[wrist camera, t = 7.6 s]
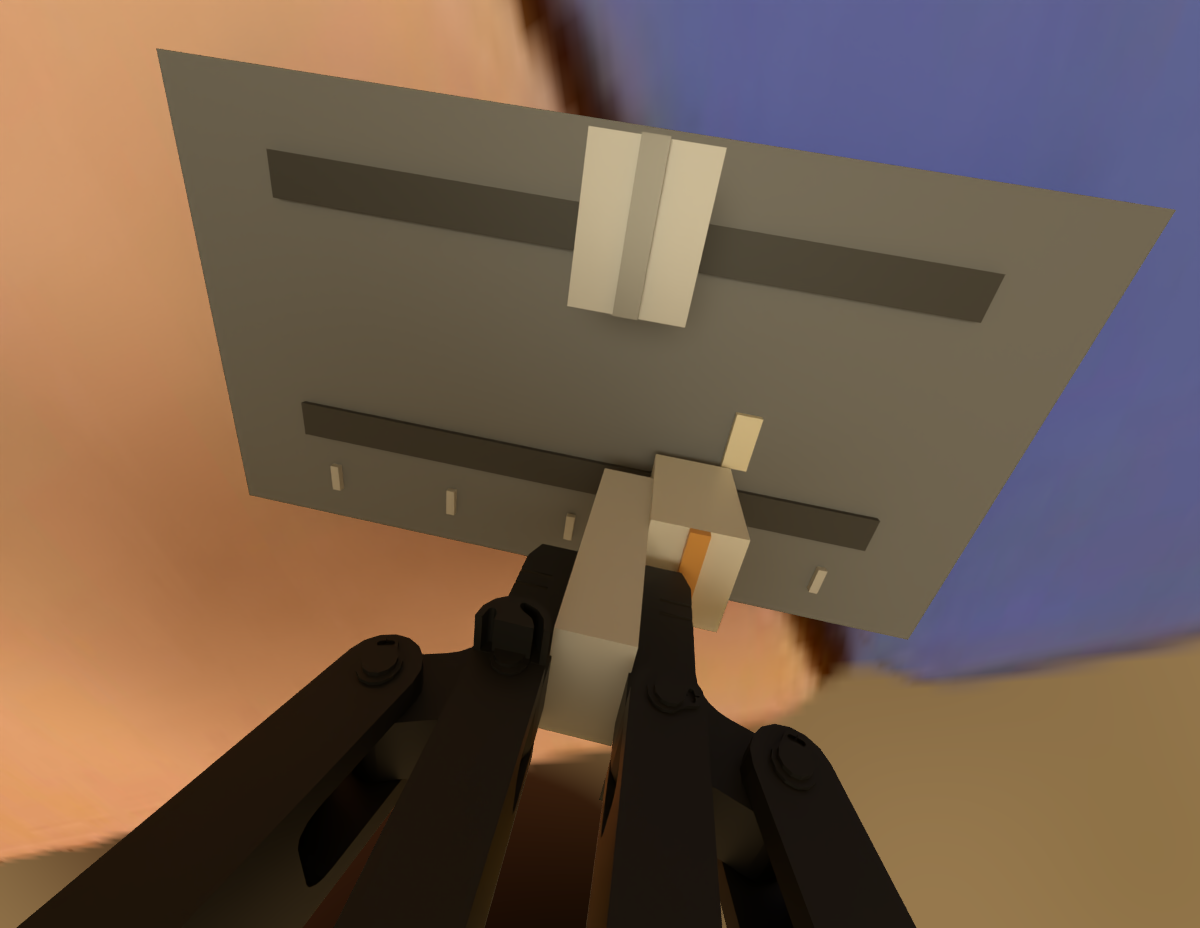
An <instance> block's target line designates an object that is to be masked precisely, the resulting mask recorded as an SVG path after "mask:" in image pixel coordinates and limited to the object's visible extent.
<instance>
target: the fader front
mask: <svg viewBox="0 0 1200 928" xmlns="http://www.w3.org/2000/svg"><path fill="white" fill-rule="evenodd" d="M726 149H727V148H725V147H718V146H712V145H706V144H700V143H693V142H687V141H681V140H675V139H672V136H666V135H660V134H654V133H648V132H642V134H637V133H631V132H625V131H618V130H612V129H606V128H599V127H593V126H589V127H588V136H587V144H586V152H585V161H584V169H583V177H582V186H581V194H580V203H579V211H578V219H577V228H576V236H575V245H574V253H573V261H572V270H571V278H570V286H569V295H568V303H567V306H570V307H576V308H581V309H586V310H592V311H597V312H603V313H608V314H612V316H616V317H622V318H627V319H633V320H638V319H641V320H646V321H651V322H657V323H662V324H668V325H673V326H679V327H684V328H685V326H686V321H687V317H688V313H689V308H690V304H691V300H692V296H693V291H694V287H695V283H696V278H697V274H698V270H699V265H700V261H701V257H702V252H703V248H704V244H705V240H706V235H707V231H708V227H709V222H710V218H711V214H712V209H713V205H714V201H715V197H716V192H717V188H718V184H719V179H720V175H721V171H722V166H723V162H724V158H725V153H726Z"/></svg>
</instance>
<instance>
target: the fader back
mask: <svg viewBox="0 0 1200 928" xmlns="http://www.w3.org/2000/svg"><path fill="white" fill-rule="evenodd" d="M650 478H653V483H652V495H651V507H650V519H649V530H648V541H647V552H646V564H645V565H648V566H652V567H657V568H661V569H666V570H670V571H675V572H679V573H682V574H683V576H684V578H685V579H686V581H687V583H688V585H689V586H690V588H691V599H692V607H691V608H692V617H693V619H692V622H693V627H695V628H700V629H704V630H709V631H713V632H717V630H718V627H719V625H720V622H721V619H722V617H723V614H724V611H725V608H726V606H727V603H728V600H729V597H730V595H731V592H732V589H733V587H734V584H735V581H736V578H737V576H738V573H739V570H740V567H741V565H742V562H743V559H744V557H745V554H746V551H747V548H748V546H749V543H750V537H749V534H748V530H747V526H746V523H745V519H744V516H743V512H742V508H741V505H740V501H739V497H738V494H737V490H736V486H735V483H734V479H733V475H732V472H731V469H729V468H724V467H719V466H714V465H709V464H704V463H699V462H694V461H689V460H684V459H679V458H674V457H669V456H664V455H659V454H656V456H655V460H654V465H653V469H652V473H651V477H650Z"/></svg>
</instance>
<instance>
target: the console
mask: <svg viewBox="0 0 1200 928" xmlns="http://www.w3.org/2000/svg"><path fill="white" fill-rule="evenodd" d="M156 49H157V48H156ZM157 54H158V58H159V63H160V68H161V73H162V78H163V82H164V87H165V92H166V97H167V102H168V106H169V111H170V116H171V121H172V125H173V130H174V135H175V140H176V145H177V149H178V154H179V159H180V164H181V169H182V173H183V178H184V183H185V188H186V193H187V197H188V202H189V207H190V212H191V217H192V221H193V226H194V231H195V236H196V240H197V245H198V250H199V255H200V260H201V264H202V269H203V274H204V279H205V284H206V288H207V293H208V298H209V303H210V308H211V312H212V317H213V322H214V327H215V331H216V336H217V341H218V346H219V351H220V355H221V360H222V365H223V370H224V375H225V379H226V384H227V389H228V394H229V399H230V403H231V408H232V413H233V418H234V422H235V427H236V432H237V437H238V442H239V446H240V451H241V456H242V461H243V466H244V470H245V475H246V480H247V485H248V490H249V494H250V495H252V496H257V497H261V498H266V499H270V500H275V501H279V502H284V503H288V504H293V505H297V506H302V507H307V508H311V509H316V510H320V511H325V512H329V513H334V514H338V515H343V516H348V517H352V518H357V519H361V520H366V521H370V522H375V523H379V524H384V525H389V526H393V527H398V528H402V529H407V530H411V531H416V532H420V533H425V534H429V535H434V536H439V537H443V538H448V539H452V540H457V541H461V542H466V543H470V544H475V545H480V546H484V547H489V548H493V549H498V550H502V551H507V552H511V553H516V554H520V555H525V556H528V555H529V553H531V552H532V551H533V550H535V549H536V548H537V547H539V546H540V545H541V544H547V545H551V546H556V547H560V548H565V549H569V550H574V551H579V548H580V544H581V541H582V538H583V535H584V532H585V529H586V526H587V522H588V519H589V516H590V513H591V510H592V507H593V504H594V501H595V497H596V494H597V491H598V488H599V485H600V482H601V479H602V475H603V472H604V469H605V468H607V469H611V470H616V471H621V472H626V473H630V474H635V475H640V476H645V477H649V478H650V477H651V473H652V469H653V465H654V460H655V456H656V454H659V455H664V456H669V457H674V458H679V459H684V460H689V461H694V462H699V463H704V464H709V465H714V466H719V467H724V468H729V469H731V472H732V475H733V479H734V483H735V486H736V490H737V494H738V497H739V501H740V505H741V508H742V512H743V516H744V519H745V523H746V526H747V530H748V534H749V537H750V543H749V546H748V548H747V551H746V554H745V557H744V559H743V562H742V565H741V567H740V570H739V573H738V576H737V578H736V581H735V584H734V587H733V589H732V592H731V595H730V597H729V600H730V601H734V602H739V603H743V604H748V605H753V606H757V607H762V608H766V609H771V610H775V611H780V612H784V613H789V614H794V615H798V616H803V617H807V618H812V619H816V620H821V621H825V622H830V623H834V624H839V625H844V626H848V627H853V628H857V629H862V630H866V631H871V632H875V633H880V634H885V635H889V636H894V637H898V638H903V639H907V640H908V639H909V637H910V635H911V634H912V632H913V631H914V629H915V627H916V626H917V624H918V623H919V621H920V619H921V618H922V616H923V615H924V613H925V611H926V610H927V608H928V607H929V605H930V603H931V602H932V600H933V599H934V597H935V595H936V594H937V592H938V591H939V589H940V587H941V586H942V584H943V582H944V581H945V579H946V578H947V576H948V574H949V573H950V571H951V570H952V568H953V566H954V565H955V563H956V562H957V560H958V558H959V557H960V555H961V554H962V552H963V550H964V549H965V547H966V546H967V544H968V542H969V541H970V539H971V538H972V536H973V534H974V533H975V531H976V530H977V528H978V526H979V525H980V523H981V522H982V520H983V518H984V517H985V515H986V514H987V512H988V510H989V509H990V507H991V506H992V504H993V502H994V501H995V499H996V498H997V496H998V494H999V493H1000V491H1001V490H1002V488H1003V486H1004V485H1005V483H1006V481H1007V480H1008V478H1009V477H1010V475H1011V473H1012V472H1013V470H1014V469H1015V467H1016V465H1017V464H1018V462H1019V461H1020V459H1021V457H1022V456H1023V454H1024V453H1025V451H1026V449H1027V448H1028V446H1029V445H1030V443H1031V441H1032V440H1033V438H1034V437H1035V435H1036V433H1037V432H1038V430H1039V429H1040V427H1041V425H1042V424H1043V422H1044V421H1045V419H1046V417H1047V416H1048V414H1049V413H1050V411H1051V409H1052V408H1053V406H1054V405H1055V403H1056V401H1057V400H1058V398H1059V397H1060V395H1061V393H1062V392H1063V390H1064V388H1065V387H1066V385H1067V384H1068V382H1069V380H1070V379H1071V377H1072V376H1073V374H1074V372H1075V371H1076V369H1077V368H1078V366H1079V364H1080V363H1081V361H1082V360H1083V358H1084V356H1085V355H1086V353H1087V352H1088V350H1089V348H1090V347H1091V345H1092V344H1093V342H1094V340H1095V339H1096V337H1097V336H1098V334H1099V332H1100V331H1101V329H1102V328H1103V326H1104V324H1105V323H1106V321H1107V320H1108V318H1109V316H1110V315H1111V313H1112V312H1113V310H1114V308H1115V307H1116V305H1117V304H1118V302H1119V300H1120V299H1121V297H1122V295H1123V294H1124V292H1125V291H1126V289H1127V287H1128V286H1129V284H1130V283H1131V281H1132V279H1133V278H1134V276H1135V275H1136V273H1137V271H1138V270H1139V268H1140V267H1141V265H1142V263H1143V262H1144V260H1145V259H1146V257H1147V255H1148V254H1149V252H1150V251H1151V249H1152V247H1153V246H1154V244H1155V243H1156V241H1157V239H1158V238H1159V236H1160V235H1161V233H1162V231H1163V230H1164V228H1165V227H1166V225H1167V223H1168V222H1169V220H1170V219H1171V217H1172V215H1173V214H1174V212H1175V211H1176V210H1173V209H1167V208H1160V207H1154V206H1148V205H1141V204H1135V203H1129V202H1122V201H1116V200H1110V199H1103V198H1097V197H1091V196H1085V195H1078V194H1072V193H1066V192H1059V191H1053V190H1047V189H1040V188H1034V187H1028V186H1021V185H1015V184H1009V183H1003V182H996V181H990V180H984V179H977V178H971V177H965V176H958V175H952V174H946V173H939V172H933V171H927V170H920V169H914V168H908V167H902V166H895V165H889V164H883V163H876V162H870V161H864V160H857V159H851V158H845V157H838V156H832V155H826V154H820V153H813V152H807V151H801V150H794V149H788V148H782V147H775V146H769V145H763V144H756V143H750V142H744V141H738V140H731V139H725V138H719V137H712V136H706V135H700V134H693V133H687V132H681V131H674V130H668V129H662V128H655V127H649V126H643V125H637V124H630V123H624V122H618V121H611V120H605V119H599V118H592V117H586V116H580V115H573V114H567V113H561V112H555V111H548V110H542V109H536V108H529V107H523V106H517V105H510V104H504V103H498V102H491V101H485V100H479V99H473V98H466V97H460V96H454V95H447V94H441V93H435V92H428V91H422V90H416V89H409V88H403V87H397V86H390V85H384V84H378V83H372V82H365V81H359V80H353V79H346V78H340V77H334V76H327V75H321V74H315V73H308V72H302V71H296V70H290V69H283V68H277V67H271V66H264V65H258V64H252V63H245V62H239V61H233V60H226V59H220V58H214V57H207V56H201V55H195V54H189V53H182V52H176V51H170V50H163V49H157ZM589 126H593V127H599V128H606V129H612V130H618V131H625V132H631V133H637V134H642V132H648V133H654V134H660V135H666V136H672V139H675V140H681V141H687V142H693V143H700V144H706V145H712V146H718V147H725V148H727V149H726V153H725V158H724V162H723V166H722V171H721V175H720V179H719V184H718V188H717V192H716V197H715V201H714V205H713V209H712V214H711V218H710V222H709V227H708V231H707V235H706V240H705V244H704V248H703V252H702V257H701V261H700V265H699V270H698V274H697V278H696V283H695V287H694V291H693V296H692V300H691V304H690V308H689V313H688V317H687V321H686V326H685V328H684V327H679V326H673V325H668V324H662V323H657V322H651V321H646V320H641V319H638V320H633V319H627V318H622V317H616V316H612V314H608V313H603V312H597V311H592V310H586V309H581V308H576V307H570V306H567V303H568V295H569V286H570V278H571V270H572V261H573V253H574V245H575V236H576V228H577V219H578V211H579V203H580V194H581V186H582V177H583V169H584V161H585V152H586V144H587V136H588V127H589Z"/></svg>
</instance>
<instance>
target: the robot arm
mask: <svg viewBox="0 0 1200 928" xmlns="http://www.w3.org/2000/svg"><path fill="white" fill-rule="evenodd" d="M652 483H653V478H649V477H645V476H640V475H635V474H630V473H626V472H621V471H616V470H611V469H607V468H605V469H604V472H603V475H602V479H601V482H600V485H599V488H598V491H597V494H596V497H595V501H594V504H593V507H592V510H591V513H590V516H589V519H588V522H587V526H586V529H585V532H584V535H583V538H582V541H581V544H580V548H579V551H574V550H569V549H565V548H560V547H556V546H551V545H547V544H541V545H540V546H539V547H537V548H536V549H535V550H533V551H532V552H531V553H529V555H528V557H527V559H526V561H525V563H524V565H523V567H522V570H521V571H520V573H519V575H518V577H517V579H516V583H515V584H514V586H513V588H512V590H511V592H510V594H509V596H506V597H501V598H496V599H494V600H492V601H490V602H488V603H487V604H485V605H483V606H482V608H481V609H480V610H479V611H478V612H477V613H476V614H475V630H474V646H473V647H471V648H469V649H466V650H463V651H460V652H453V653H441V654H422V653H421V650H420V647H419V646H418V645H417V644H416V643H415V642H414V641H412V640H411V639H410V638H407V637H403V636H400V635H379V636H376V637H373V638H370V639H367V640H364V641H362V642H361V643H359V644H357V645H356V646H354V647H353V648H351V649H350V650H348V651H347V652H346V653H345V654H344V655H342V656H341V657H340V658H339V659H338V660H336V661H335V662H334V663H333V664H332V665H330V666H329V667H328V668H327V669H326V670H324V671H323V672H322V673H321V674H320V675H318V676H317V677H316V678H315V679H314V680H312V681H311V682H310V683H309V684H308V685H306V686H305V687H304V688H303V689H302V690H300V691H299V692H298V693H297V694H296V695H294V696H293V697H292V698H291V699H290V700H288V701H287V702H286V703H285V704H284V705H282V706H281V707H280V708H279V709H278V710H277V711H275V712H274V713H273V714H272V715H271V716H269V717H268V718H267V719H266V720H265V721H263V722H262V723H261V724H260V725H259V726H257V727H256V728H255V729H254V730H253V731H251V732H250V733H249V734H248V735H247V736H245V737H244V738H243V739H242V740H241V741H239V742H238V743H237V744H236V745H235V746H233V747H232V748H231V749H230V750H229V751H227V752H226V753H225V754H224V755H223V756H221V757H220V758H219V759H218V760H217V761H215V762H214V763H213V764H212V765H211V766H209V767H208V768H207V769H206V770H205V771H203V772H202V773H201V774H200V775H199V776H197V777H196V778H195V779H194V780H193V781H192V782H190V783H189V784H188V785H187V786H186V787H184V788H183V789H182V790H181V791H180V792H178V793H177V794H176V795H175V796H174V797H172V798H171V799H170V800H169V801H168V802H166V803H165V804H164V805H163V806H162V807H160V808H159V809H158V810H157V811H156V812H154V813H153V814H152V815H151V816H150V817H148V818H147V819H146V820H145V821H144V822H142V823H141V824H140V825H139V826H138V827H136V828H135V829H134V830H133V831H132V832H130V833H129V834H128V835H127V836H126V837H124V838H123V839H122V840H121V841H120V842H118V843H117V844H116V845H115V846H114V847H112V848H111V849H110V850H109V851H108V852H107V853H105V854H104V855H103V856H102V857H101V858H99V859H98V860H97V861H96V862H95V863H93V864H92V865H91V866H90V867H89V868H87V869H86V870H85V871H84V872H83V873H81V874H80V875H79V876H78V877H77V878H75V879H74V880H73V881H72V882H71V883H69V884H68V885H67V886H66V887H65V888H63V889H62V890H61V891H60V892H59V893H58V894H56V895H55V896H54V897H53V898H51V899H50V900H49V901H48V902H47V903H46V904H44V905H43V906H42V907H41V908H39V909H38V910H37V911H36V912H35V913H33V914H32V915H31V916H30V917H29V918H28V919H26V920H25V921H24V922H23V923H21V924H20V925H19V926H18V927H17V928H303V926H304V925H305V924H306V922H307V921H308V920H309V918H310V917H311V915H312V914H313V913H314V912H315V910H316V909H317V907H318V906H319V905H320V904H321V902H322V901H323V900H324V898H325V897H326V896H327V895H328V893H329V892H330V891H331V889H332V888H333V887H334V885H335V884H336V883H337V881H338V880H339V879H340V877H341V876H342V875H343V873H344V872H345V871H346V869H347V868H348V867H349V866H350V864H351V863H352V861H353V860H354V859H355V858H356V856H357V855H358V853H359V852H360V851H361V850H362V848H363V847H364V846H365V844H366V843H367V842H368V840H369V839H370V838H371V836H372V835H373V834H374V833H375V831H376V830H377V828H378V827H379V826H380V825H381V823H382V822H383V821H384V819H385V818H386V816H387V815H388V814H389V813H390V811H391V810H392V809H393V808H394V809H393V810H392V812H391V815H390V817H389V819H388V821H387V823H386V825H385V827H384V828H383V830H382V833H381V834H380V837H379V838H378V841H377V843H376V844H375V846H374V849H373V850H372V852H371V855H370V856H369V858H368V860H367V862H366V865H365V866H364V868H363V871H362V872H361V874H360V876H359V878H358V880H357V882H356V884H355V886H354V888H353V890H352V892H351V894H350V896H349V898H348V900H347V902H346V904H345V906H344V908H343V910H342V912H341V914H340V916H339V918H338V920H337V922H336V924H335V926H334V928H484V927H485V923H486V920H487V916H488V912H489V909H490V905H491V901H492V898H493V895H494V891H495V887H496V884H497V880H498V877H499V873H500V869H501V866H502V862H503V858H504V855H505V851H506V848H507V844H508V841H509V837H510V833H511V830H512V826H513V823H514V819H515V816H516V812H517V808H518V805H519V801H520V798H521V794H522V790H523V787H524V783H525V780H526V776H527V772H528V769H529V765H530V762H531V758H532V752H533V745H534V740H535V736H536V733H537V729H538V728H541V729H545V730H549V731H553V732H557V733H561V734H565V735H569V736H573V737H577V738H581V739H585V740H589V741H593V742H597V743H601V744H605V745H609V746H611V745H612V752H611V760H610V763H609V767H608V771H607V774H606V778H605V781H604V785H603V788H602V792H601V796H600V799H599V800H602V801H603V802H602V810H601V817H600V825H599V833H598V840H597V848H596V856H595V863H594V871H593V879H592V886H591V894H590V902H589V909H588V917H587V924H586V928H722V920H721V906H722V910H723V914H724V918H725V922H726V925H727V928H916V926H915V924H914V922H913V921H912V918H911V917H910V915H909V913H908V911H907V909H906V907H905V905H904V903H903V901H902V899H901V897H900V896H899V894H898V892H897V890H896V888H895V886H894V884H893V882H892V880H891V878H890V876H889V875H888V873H887V871H886V869H885V867H884V865H883V863H882V861H881V859H880V857H879V855H878V853H877V852H876V850H875V848H874V846H873V844H872V842H871V840H870V838H869V836H868V834H867V832H866V830H865V829H864V827H863V825H862V823H861V821H860V819H859V817H858V815H857V813H856V811H855V809H854V808H853V805H852V804H851V802H850V800H849V798H848V796H847V794H846V792H845V790H844V788H843V786H842V785H841V782H840V781H839V779H838V777H837V775H836V773H835V771H834V769H833V767H832V765H831V764H830V762H829V761H828V759H827V758H826V756H825V755H824V754H823V752H822V751H821V749H820V748H819V747H818V746H817V745H815V744H814V743H813V742H812V741H811V740H810V739H809V738H808V737H806V736H805V735H804V734H802V733H800V732H798V731H796V730H794V729H792V728H790V727H787V726H782V725H777V724H772V725H767V726H762V727H761V728H760V729H759V730H758V731H757V732H756V733H753V732H752V731H750V730H748V729H746V728H744V727H743V726H741V725H739V724H737V723H735V722H734V721H732V720H730V719H728V718H727V717H725V716H724V715H722V714H721V713H719V712H718V711H717V710H716V709H715V708H714V707H713V706H712V705H711V704H710V703H709V702H708V701H707V699H706V698H705V697H704V695H703V691H702V690H701V688H700V687H699V686H698V684H697V679H696V673H695V654H694V636H693V622H692V619H693V617H692V608H691V607H692V599H691V588H690V586H689V585H688V583H687V581H686V579H685V578H684V576H683V574H682V573H679V572H675V571H670V570H666V569H661V568H657V567H652V566H648V565H645V564H646V552H647V541H648V530H649V519H650V507H651V495H652ZM538 726H539V727H538ZM612 741H613V744H612ZM394 806H395V807H394ZM720 902H721V906H720Z"/></svg>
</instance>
